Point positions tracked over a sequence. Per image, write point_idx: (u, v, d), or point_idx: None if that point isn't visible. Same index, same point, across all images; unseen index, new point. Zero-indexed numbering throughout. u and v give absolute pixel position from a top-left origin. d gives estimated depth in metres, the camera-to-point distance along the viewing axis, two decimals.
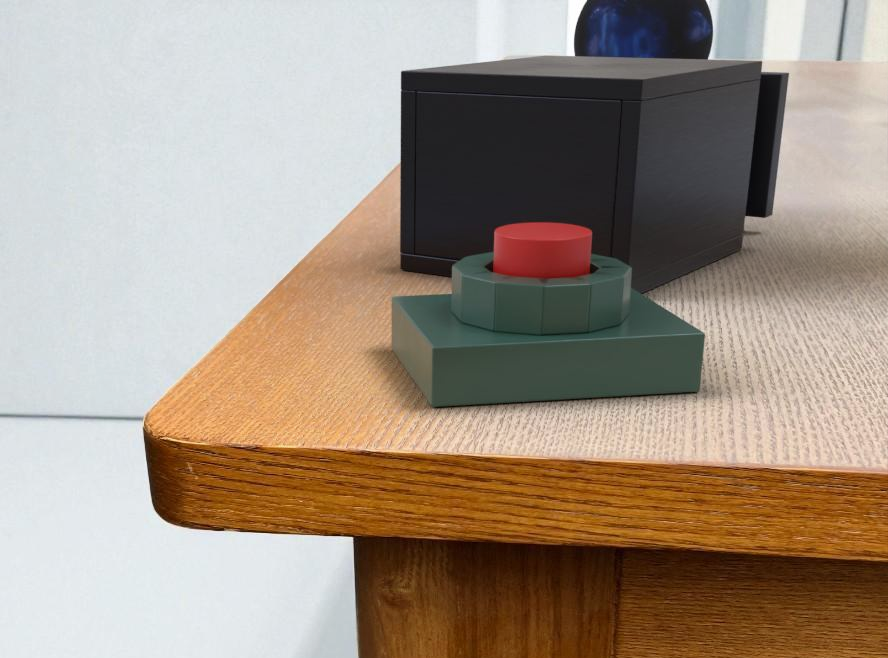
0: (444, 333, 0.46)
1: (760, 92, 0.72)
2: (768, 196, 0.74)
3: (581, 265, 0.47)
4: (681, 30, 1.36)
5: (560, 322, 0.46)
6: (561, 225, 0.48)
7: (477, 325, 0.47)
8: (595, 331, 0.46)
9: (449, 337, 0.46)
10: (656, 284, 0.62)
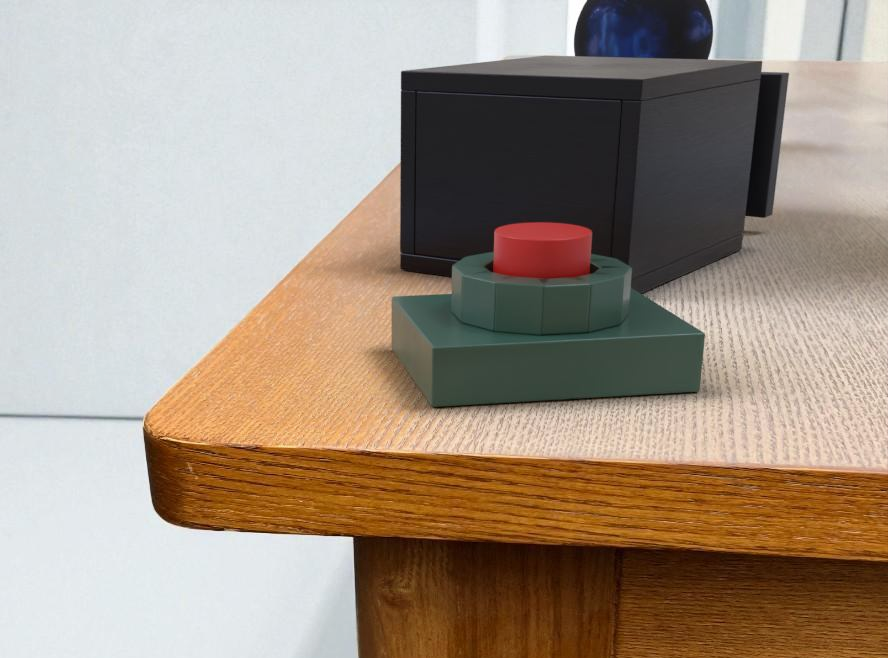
0: (444, 333, 0.46)
1: (760, 92, 0.72)
2: (768, 196, 0.74)
3: (581, 265, 0.47)
4: (681, 30, 1.36)
5: (560, 322, 0.46)
6: (561, 225, 0.48)
7: (477, 325, 0.47)
8: (595, 331, 0.46)
9: (449, 337, 0.46)
10: (656, 284, 0.62)
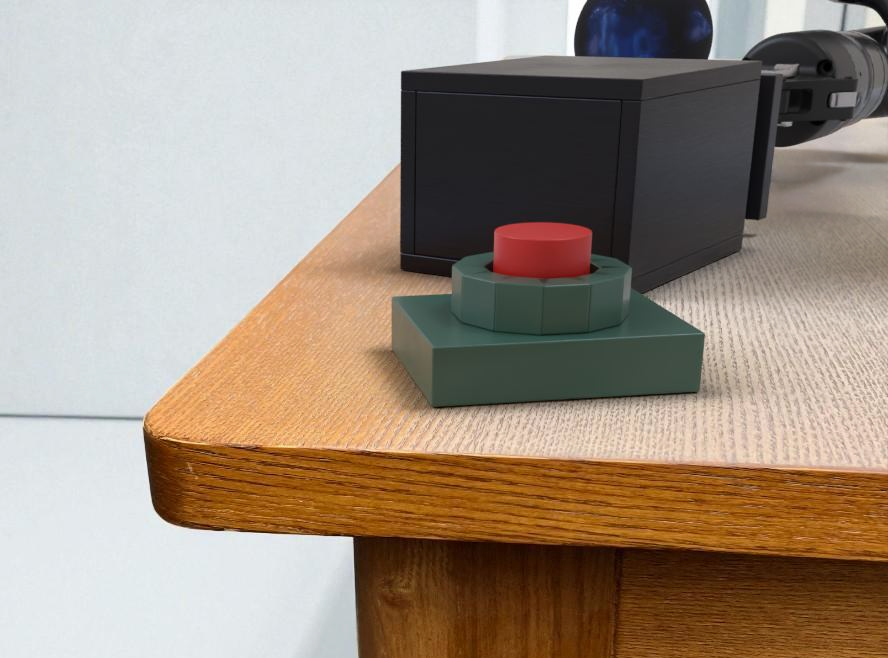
0: (444, 333, 0.46)
1: None
2: (762, 198, 0.73)
3: (581, 265, 0.47)
4: (681, 30, 1.36)
5: (560, 322, 0.46)
6: (561, 225, 0.48)
7: (477, 325, 0.47)
8: (595, 331, 0.46)
9: (449, 337, 0.46)
10: (656, 284, 0.62)
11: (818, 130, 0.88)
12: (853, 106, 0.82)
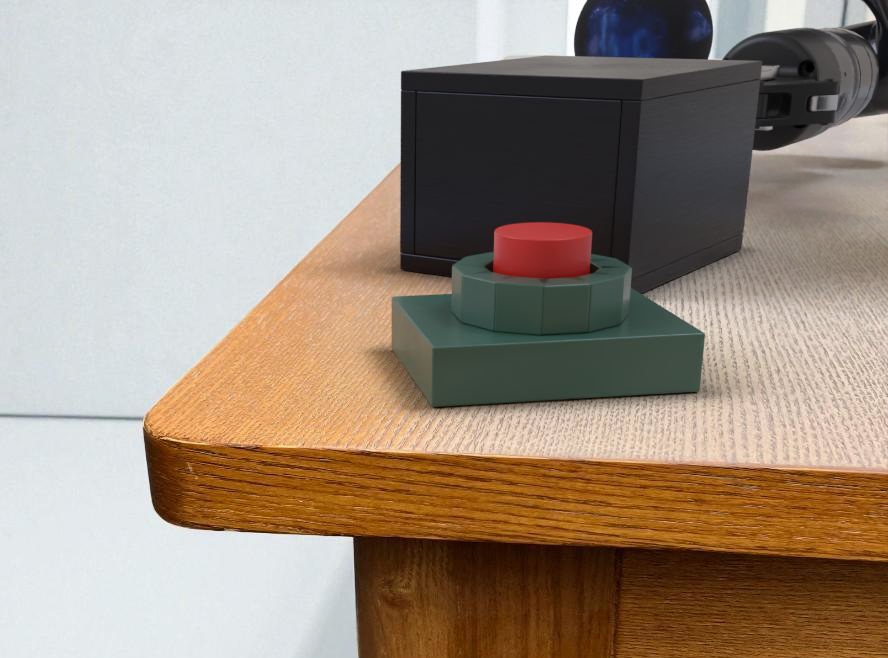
0: (444, 333, 0.46)
1: None
2: None
3: (581, 265, 0.47)
4: (681, 30, 1.36)
5: (560, 322, 0.46)
6: (561, 225, 0.48)
7: (477, 325, 0.47)
8: (595, 331, 0.46)
9: (449, 337, 0.46)
10: (656, 284, 0.62)
11: (800, 133, 0.85)
12: (834, 109, 0.79)
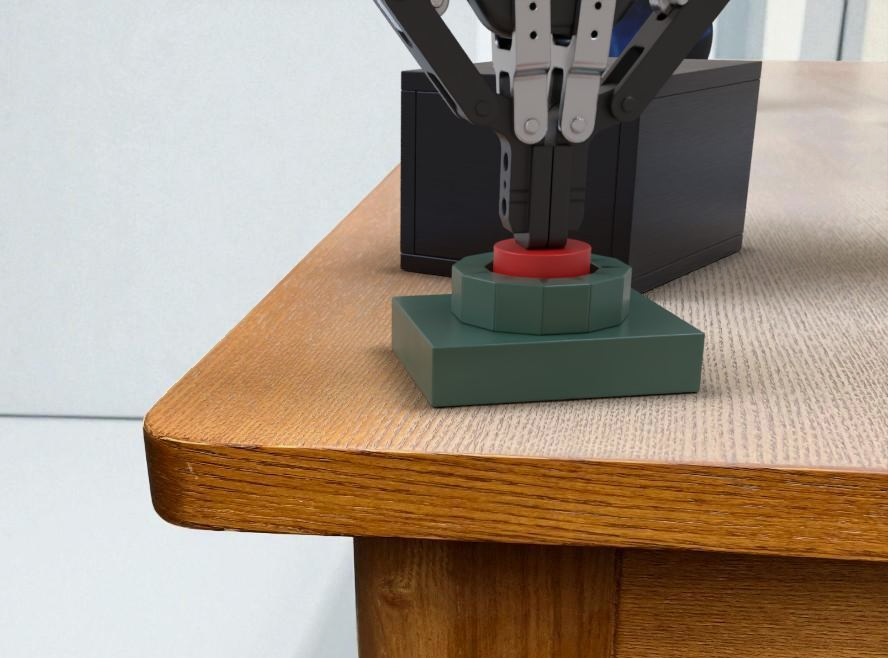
0: (444, 333, 0.46)
1: None
2: None
3: None
4: None
5: (560, 322, 0.46)
6: None
7: (477, 325, 0.47)
8: (595, 331, 0.46)
9: (449, 337, 0.46)
10: (656, 284, 0.62)
11: None
12: None
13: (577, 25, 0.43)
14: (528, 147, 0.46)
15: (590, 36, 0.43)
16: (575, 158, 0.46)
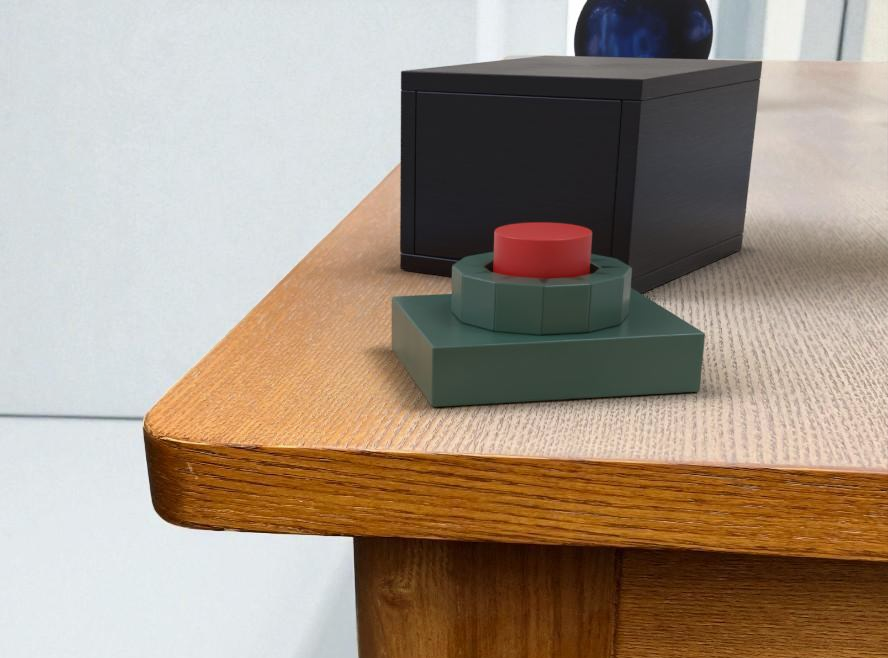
0: (444, 333, 0.46)
1: None
2: None
3: (581, 265, 0.47)
4: (681, 30, 1.36)
5: (560, 322, 0.46)
6: (561, 225, 0.48)
7: (477, 325, 0.47)
8: (595, 331, 0.46)
9: (449, 337, 0.46)
10: (656, 284, 0.62)
11: None
12: None
13: None
14: None
15: None
16: None
